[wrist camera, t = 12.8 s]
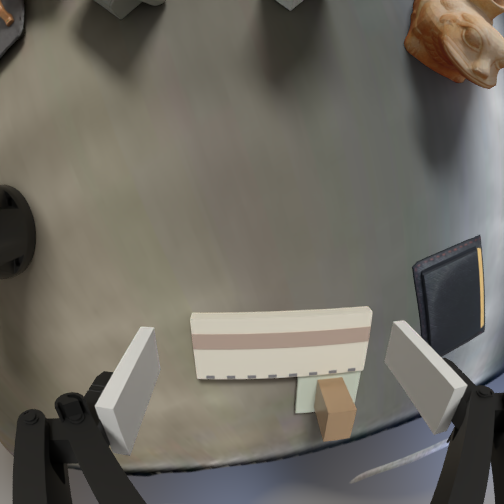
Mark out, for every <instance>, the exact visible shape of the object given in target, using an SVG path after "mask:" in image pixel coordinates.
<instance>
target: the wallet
mask: <svg viewBox="0 0 504 504" xmlns="http://www.w3.org/2000/svg"><path fill="white" fill-rule="evenodd" d="M412 269H413V277H414V284H415V290H416V296H417V303H418V310H419V317H420V326H421V337H422V338H423V339H424V340H425V341H426V342H427V343H428V345H429V346H430V347H431V348H432V349H433V350H434V351H435V352H436V353H437V354H438V355H439V356H440V357H442V356H444V355H445V354H447V353H449V352H451V351H452V350H454V349H456V348H458V347H459V346H461V345H463V344H465V343H466V342H468V341H470V340H472V339H473V338H475V337H476V336H478V335H479V334H481V333H483V332H484V329H485V294H484V271H483V257H482V247H481V237H480V235H478V236H476V237H474V238H471V239H468V240H466V241H463V242H461V243H459V244H457V245H454V246H452V247H450V248H447V249H445V250H443V251H440V252H438V253H436V254H433V255H431V256H429V257H426V258H424V259H422V260H420V261H418V262H417V263H416V264H415V265H414V266H413V267H412Z"/></svg>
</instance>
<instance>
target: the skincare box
mask: <svg viewBox="0 0 504 504" xmlns="http://www.w3.org/2000/svg"><path fill="white" fill-rule="evenodd" d="M276 1H277V2H278V3H280V4H281V5H283V6H284V7H285V8H287V9H288V10H292V9H294V8H295V7H296V6H297V5H298V4H299V3H301V2H302V1H303V0H276Z"/></svg>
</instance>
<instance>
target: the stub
mask: <svg viewBox="0 0 504 504" xmlns="http://www.w3.org/2000/svg"><path fill="white" fill-rule="evenodd" d="M360 373H361V370H360V371H352V372H344V373H335V374H324V375H313V376H300V377H297V388H296V401H295V413H307V412H315V413H316V416H317V420H318V424H319V427H320V431H321V435H322V438H323V442H324V441H332V440H339V439H346V438H350V435H351V431H352V427H353V423H354V419H355V415H356V411H357V409H356V407H355V405H354V403H355V398H356V393H357V388H358V383H359V378H360Z"/></svg>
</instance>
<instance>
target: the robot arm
mask: <svg viewBox="0 0 504 504" xmlns="http://www.w3.org/2000/svg"><path fill="white" fill-rule="evenodd" d="M34 248H35V225H34V220H33V216H32V213H31V210H30V207H29V205H28V203H27V201H26V200H25V198H24V197H23V195H22V194H21V193H20V192H19V191H18V190H16V189H15V188H13V187H11V186H9V185H0V279H8V278H11V277H14V276H16V275H18V274H19V273H21V272H23V271H24V270H25V269H26V268H27V266H28V265H29V263H30V261H31V259H32V256H33V253H34ZM384 362H385V363H386V365H387V366H388V368H389V369H390V371H391V372H392V373H393V375H394V376H395V378H396V379H397V381H398V382H399V384H400V385H401V386H402V388H403V389H404V391H405V392H406V394H407V395H408V397H409V398H410V400H411V401H412V402H413V404H414V405H415V407H416V408H417V410H418V411H419V413H420V414H421V416H422V417H423V419H424V420H425V422H426V423H427V425H428V426H429V428H430V429H431V431H432V432H433V434H434V435H435V434H438V433H441V432H444V431H447V429H448V427H449V425H450V423H451V421H452V423H453V424H454V425H455V427H454V429H453V431H452V433H451V435H450V437H449V439H448V440H447V443H449V441H450V443H449V447H448V451H447V454H446V458H445V461H444V465H443V468H442V471H441V474H440V478H439V481H438V484H437V487H436V490H435V492H434V495H433V498H432V501H431V503H430V504H483V502H484V498H485V492H486V487H487V482H488V475H489V469H490V462H491V466H492V474H493V482H494V493H495V504H504V393H494V392H493V390H492V389H490V388H489V387H486V386H481V385H479V386H476V385H475V384H474V383H473V382H472V381H471V380H470V379H469V378H468V377H467V376H466V375H465V374H464V373H462V371H461V370H460V369H458V367H457V366H456V365H455V364H454V363H453V362H452V361H450V360H448V359H446V358H441V357H440V356H439V355H438V354H437V353H436V352H435V351H434V350H433V349H432V348H431V347H430V346H429V345H428V343H427V342H426V341H425V340H424V339H423V338H422V337H421V336H420V335H419V334H418V333H417V332H416V331H415V330H414V329H412V328H411V327H410V326H409V325H408V324H407V323H406V322H405V321H394V322H393V325H392V330H391V335H390V339H389V344H388V349H387V353H386V357H385V361H384ZM160 370H161V369H160V363H159V357H158V350H157V343H156V337H155V329H154V327H140V329H139V330H138V332H137V334H136V335H135V337H134V339H133V340H132V342H131V344H130V345H129V347H128V349H127V350H126V352H125V354H124V356H123V357H122V359H121V361H120V362H119V364H118V366H117V368H116V369H115V371H114V372H105V371H104V372H103V373H101V374H100V375H99V376H97V377H96V379H95V380H94V382H93V383H92V385H91V387H90V388H89V391H87V393H86V395H85V396H84V397H83V395H81V394H79V393H73V392H71V393H66V394H63V395H61V396H60V397H58V398H57V399H56V401H55V409H56V411H57V413H58V415H59V418H57V419H46V418H45V415H44V414H43V413H42V412H41V411H39V410H36V409H31V410H27V411H25V412H23V413H22V414H21V415H20V416H19V418H18V421H17V429H16V439H15V449H14V464H13V465H14V466H13V504H72V498H71V492H70V485H69V477H68V468H67V464H68V463H79V465H80V467H81V469H82V471H83V474H84V476H85V478H86V479H87V482H88V484H89V485H90V487H91V489H92V491H93V493H94V495H95V497H96V499H97V500H98V502H99V504H146V503H145V501H144V500H143V498H142V497H141V496H140V494H139V493H138V491H137V490H136V489H135V487H134V486H133V484H132V483H131V481H130V480H129V479H128V477H127V475H126V474H125V472H124V471H123V469H122V468H121V466H120V464H119V463H118V461H117V460H116V458H115V456H114V455H113V453H118V454H123V455H129V456H130V454H131V452H132V449H133V446H134V443H135V440H136V437H137V434H138V431H139V428H140V425H141V422H142V419H143V417H144V414H145V411H146V408H147V405H148V403H149V400H150V397H151V394H152V392H153V389H154V386H155V383H156V381H157V378H158V375H159V373H160ZM109 445H110V446H111V449H112V451H113V453H112V451H111V450H110V448H109Z"/></svg>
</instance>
